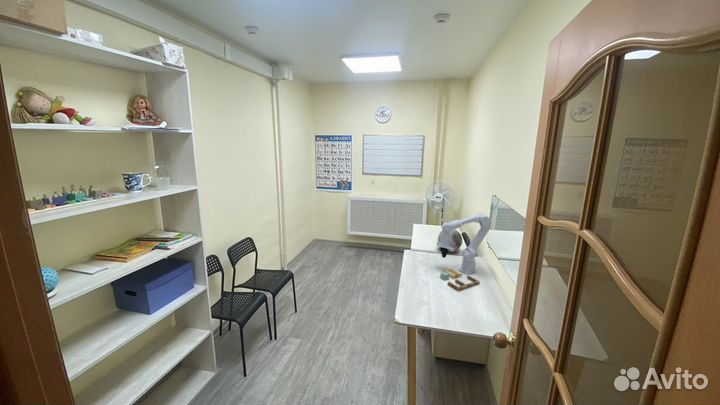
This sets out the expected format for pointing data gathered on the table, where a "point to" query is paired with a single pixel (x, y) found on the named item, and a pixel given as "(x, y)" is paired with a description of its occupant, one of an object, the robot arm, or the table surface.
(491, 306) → the table surface
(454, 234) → the moon model
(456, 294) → the table surface
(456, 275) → the oak slab
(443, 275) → the teal block
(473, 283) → the walnut frame
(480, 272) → the table surface
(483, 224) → the robot arm
